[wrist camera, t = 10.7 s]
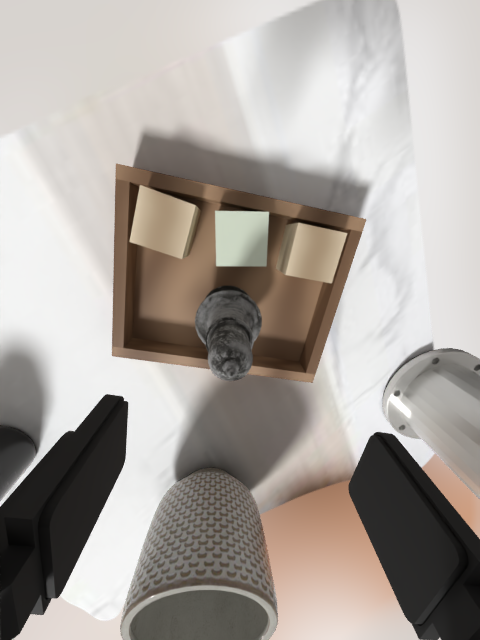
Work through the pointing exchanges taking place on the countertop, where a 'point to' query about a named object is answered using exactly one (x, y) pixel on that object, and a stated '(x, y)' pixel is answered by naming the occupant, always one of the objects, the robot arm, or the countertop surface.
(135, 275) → the tray
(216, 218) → the cube
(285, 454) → the countertop surface
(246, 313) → the salt shaker
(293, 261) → the cube
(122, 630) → the planter
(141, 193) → the cube
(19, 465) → the supplement bottle
